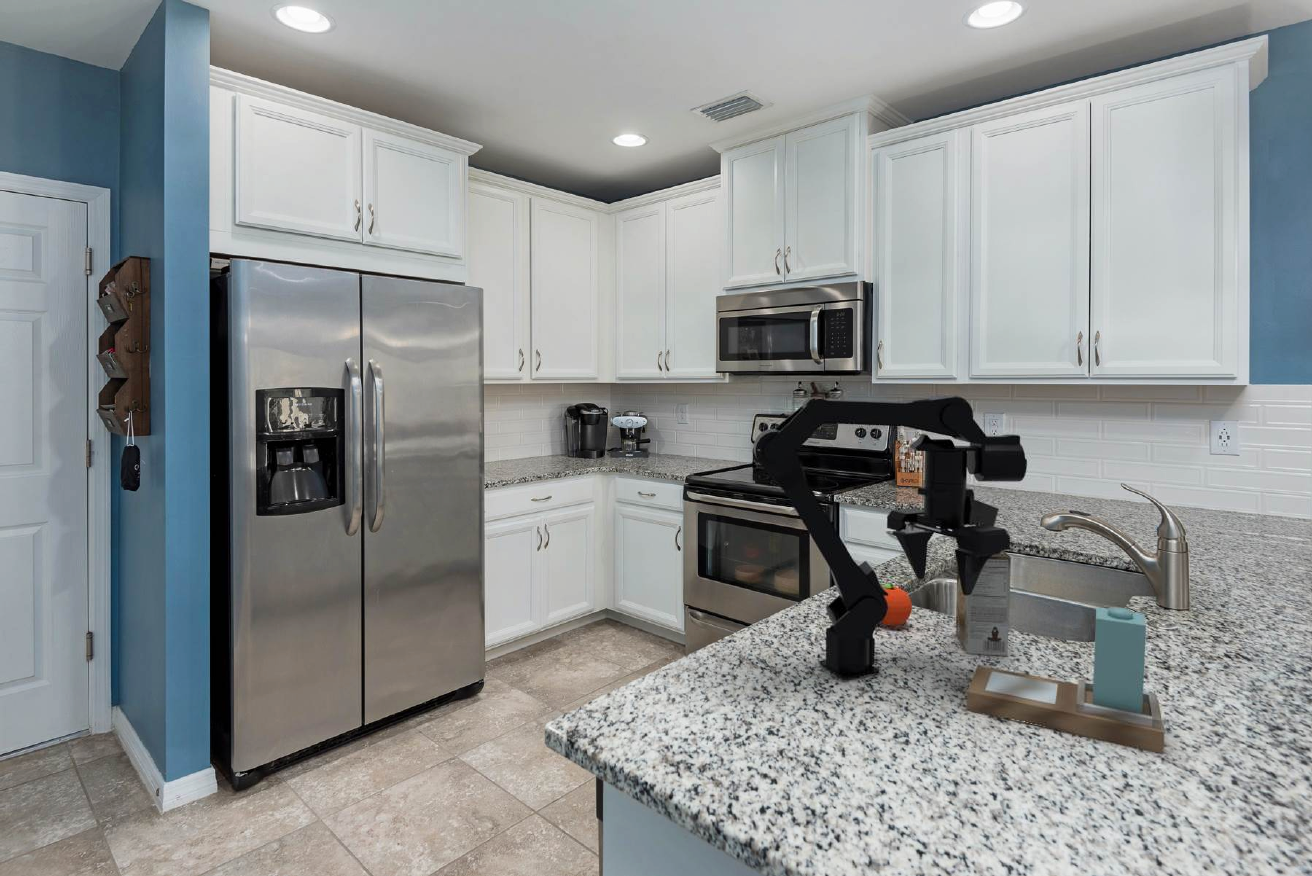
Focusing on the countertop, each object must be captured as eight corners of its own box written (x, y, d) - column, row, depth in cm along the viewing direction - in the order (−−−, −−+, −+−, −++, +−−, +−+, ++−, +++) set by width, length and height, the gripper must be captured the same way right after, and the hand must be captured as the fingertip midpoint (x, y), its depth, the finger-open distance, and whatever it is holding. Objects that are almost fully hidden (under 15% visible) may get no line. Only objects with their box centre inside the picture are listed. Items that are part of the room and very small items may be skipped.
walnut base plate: (966, 709, 92) (967, 684, 92) (977, 682, 100) (978, 658, 100) (1163, 753, 81) (1164, 724, 80) (1157, 718, 89) (1158, 691, 89)
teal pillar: (1092, 709, 86) (1096, 612, 85) (1092, 694, 91) (1096, 601, 90) (1141, 719, 84) (1146, 619, 83) (1139, 703, 88) (1143, 608, 87)
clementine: (858, 620, 127) (858, 581, 127) (887, 614, 130) (888, 577, 130) (890, 633, 120) (890, 593, 119) (920, 627, 123) (921, 588, 122)
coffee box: (954, 634, 120) (956, 541, 118) (994, 636, 118) (996, 543, 117) (966, 654, 111) (969, 554, 109) (1010, 657, 109) (1013, 556, 108)
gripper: (1041, 486, 96) (1038, 597, 97) (941, 471, 113) (939, 565, 115) (979, 491, 92) (976, 607, 93) (885, 475, 109) (883, 573, 111)
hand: (943, 586), depth 103 cm, fingers open, 9 cm apart
